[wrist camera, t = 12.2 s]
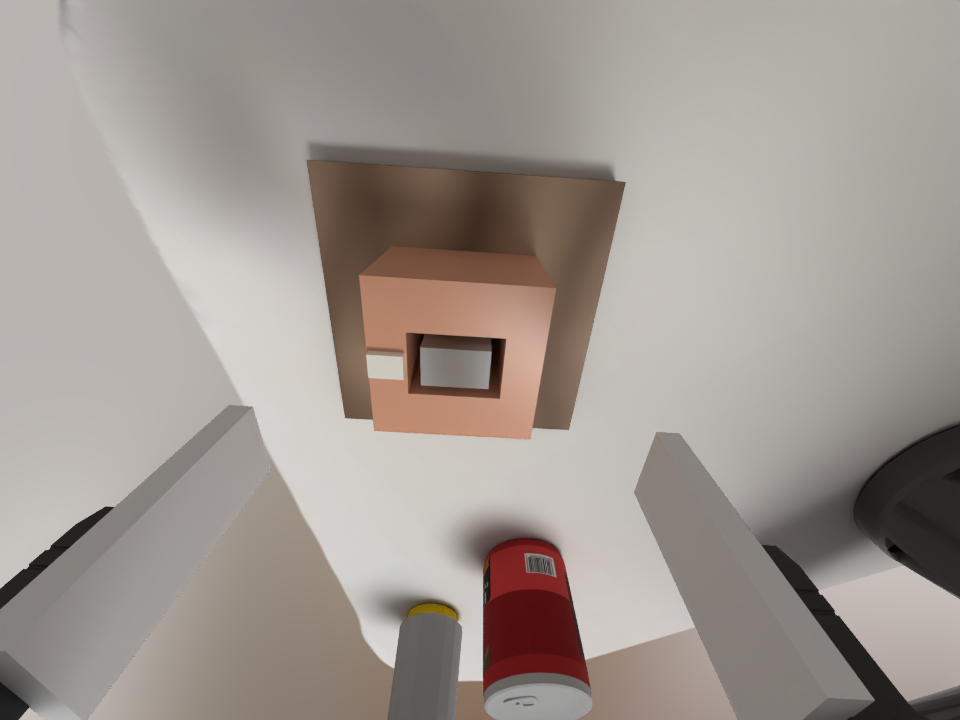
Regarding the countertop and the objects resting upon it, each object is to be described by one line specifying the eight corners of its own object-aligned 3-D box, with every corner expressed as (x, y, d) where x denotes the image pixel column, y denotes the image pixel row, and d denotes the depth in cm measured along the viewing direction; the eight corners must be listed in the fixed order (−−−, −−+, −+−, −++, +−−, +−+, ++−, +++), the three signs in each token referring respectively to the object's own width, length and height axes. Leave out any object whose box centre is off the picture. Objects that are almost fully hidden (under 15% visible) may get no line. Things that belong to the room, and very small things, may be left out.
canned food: (470, 549, 35) (465, 697, 25) (547, 526, 33) (574, 675, 23) (502, 590, 38) (508, 734, 28) (573, 571, 36) (606, 717, 27)
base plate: (615, 181, 19) (684, 188, 13) (564, 417, 27) (591, 497, 20) (318, 160, 19) (231, 156, 12) (352, 405, 27) (308, 484, 20)
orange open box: (536, 255, 20) (558, 291, 14) (519, 378, 24) (531, 444, 18) (392, 246, 20) (355, 277, 14) (398, 371, 23) (372, 435, 18)
